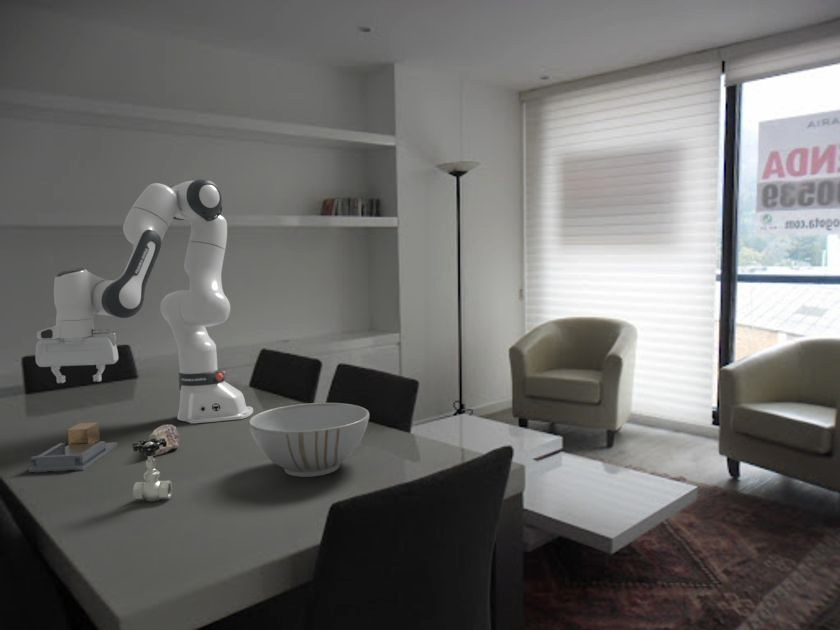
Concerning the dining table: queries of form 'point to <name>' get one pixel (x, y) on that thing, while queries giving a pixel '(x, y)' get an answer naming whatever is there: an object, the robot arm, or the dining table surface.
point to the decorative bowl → (309, 436)
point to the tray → (70, 456)
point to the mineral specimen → (166, 438)
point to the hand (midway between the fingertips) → (79, 382)
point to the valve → (151, 473)
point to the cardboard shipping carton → (84, 433)
